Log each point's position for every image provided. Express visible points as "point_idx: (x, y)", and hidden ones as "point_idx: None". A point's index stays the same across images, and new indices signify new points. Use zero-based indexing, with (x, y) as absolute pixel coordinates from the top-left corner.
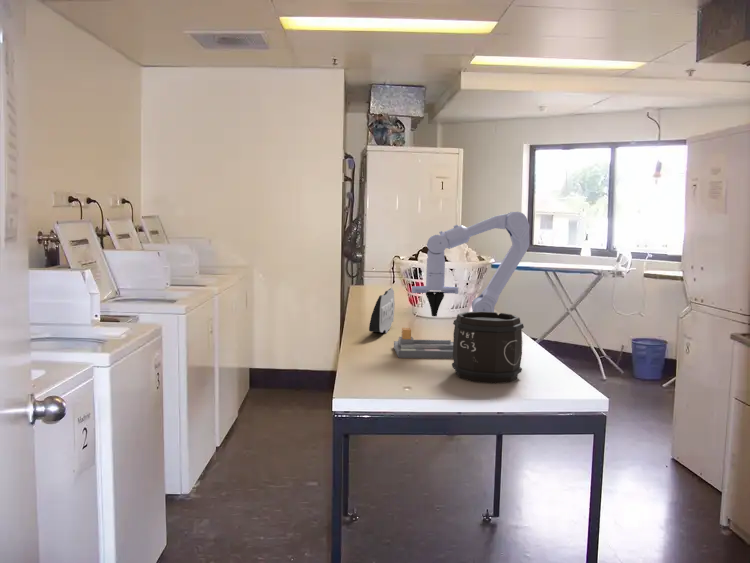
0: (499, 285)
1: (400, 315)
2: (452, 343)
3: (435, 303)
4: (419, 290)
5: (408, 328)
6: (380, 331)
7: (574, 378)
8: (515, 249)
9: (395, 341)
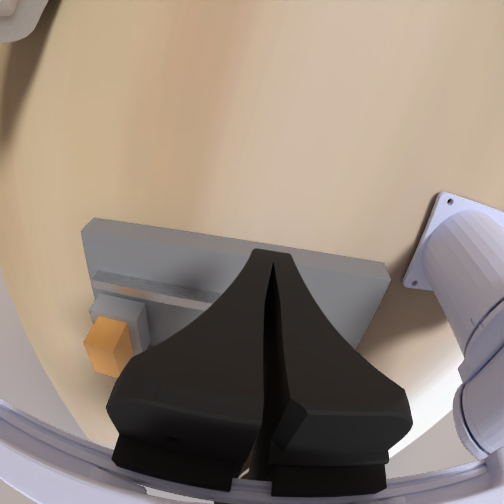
0: None
1: None
2: (324, 301)
3: (264, 378)
4: (32, 450)
5: (109, 359)
6: (36, 24)
7: (398, 450)
8: None
9: (86, 237)
